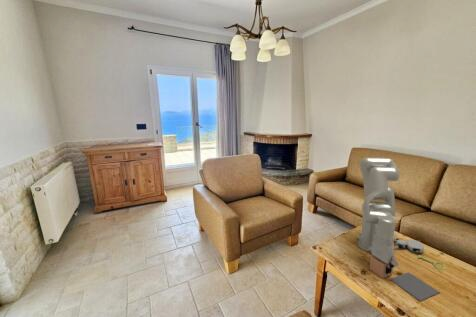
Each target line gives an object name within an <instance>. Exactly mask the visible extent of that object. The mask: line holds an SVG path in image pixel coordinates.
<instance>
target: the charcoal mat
mask: <svg viewBox="0 0 476 317" xmlns="http://www.w3.org/2000/svg"><path fill="white" fill-rule="evenodd" d="M389 281H391V282H392V283H394V284H395V285H396V286H397V287H399V288H400V289H401V290H403V291H405V292H406V293H407V294H409V295H410V296H412V298H414V299H416V300H417V301H419V302H420V303H421V302H423V301H424V300H428V299H429V298H432V297H434V296H437V295H439V294H440V293H441V292H440V291H439V290H437V289H435V288H434V287H432V286H431V285H430V284H428V283H426V282H425V281H422V280H421V279H420V278H418V277H417V276H416V275H414V274H412V273H410V272H409V271H407V272H406V273H405V272H404V273H402V274H399V275H397V276H394V277H392V278H390V279H389Z"/></svg>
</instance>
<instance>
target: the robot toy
mask: <svg viewBox="0 0 476 317" xmlns="http://www.w3.org/2000/svg"><path fill="white" fill-rule="evenodd" d="M393 245H395V246H394V248H396V249H406V248H407V249H408V250H410V251H411V252H412V253H413V252H414V253H416V254H417V253H420V254H421V253H424V252H426V250H424V249H425V248H424V247H425V246H424V245H423V243H421V241H419V240H413V239H408V240H403V239H400V238H397V237H393Z"/></svg>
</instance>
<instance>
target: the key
mask: <svg viewBox="0 0 476 317" xmlns="http://www.w3.org/2000/svg"><path fill="white" fill-rule="evenodd" d="M417 258H418V259H422V260H425V261H426V262H428V263H430V264H431V265H433V267H434V268H435V269H436V270H439V271H445V270H446V268H447V267H446V264H444V263H443V262H441V261H434V260H430V259H429V258H427V257H424V256H422V255H420V254H418V256H417ZM437 264H439V265H442V268H440V267H438V266H437Z"/></svg>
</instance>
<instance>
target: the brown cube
mask: <svg viewBox="0 0 476 317" xmlns="http://www.w3.org/2000/svg"><path fill="white" fill-rule="evenodd" d="M392 264H394V263H393V262H392ZM389 265H390V263H389ZM386 267H387V264H386V263H385V262H383V261H381V260H380V259H378V258H377V257H375V256H371V255H370V262H369V270H371V271H372V272H373V273H374V274H376V275H377V276H378V277H380V278H381V279H383V278H387V277H390V276H392V275H393V269H394V267H393V268H392V271H391V273H389V274H386Z"/></svg>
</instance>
